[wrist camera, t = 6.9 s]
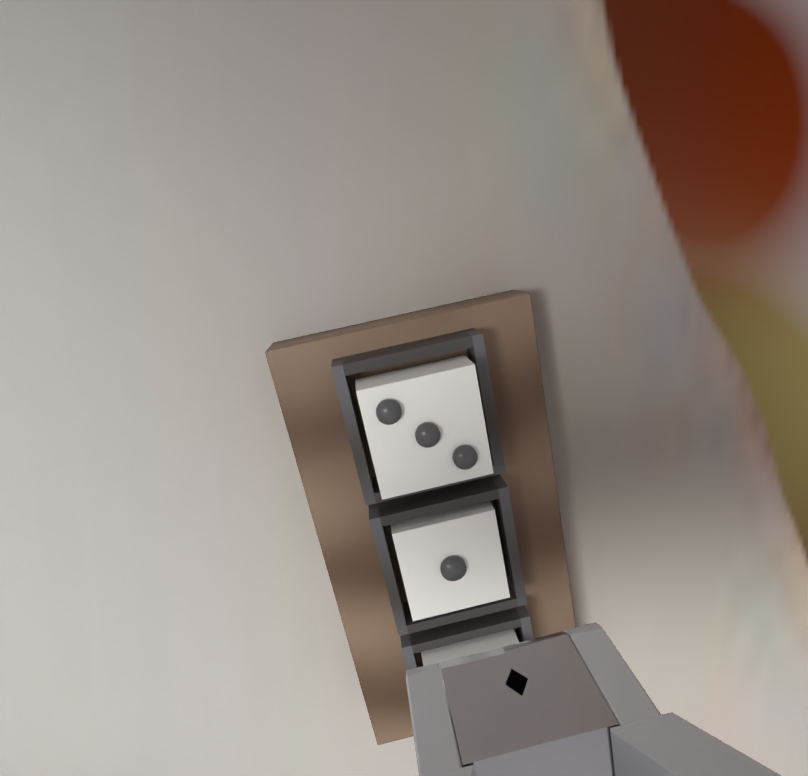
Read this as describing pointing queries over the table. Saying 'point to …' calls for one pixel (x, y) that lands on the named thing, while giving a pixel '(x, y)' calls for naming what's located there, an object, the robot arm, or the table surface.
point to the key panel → (372, 517)
